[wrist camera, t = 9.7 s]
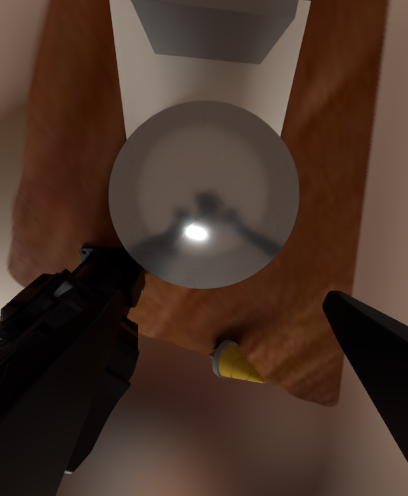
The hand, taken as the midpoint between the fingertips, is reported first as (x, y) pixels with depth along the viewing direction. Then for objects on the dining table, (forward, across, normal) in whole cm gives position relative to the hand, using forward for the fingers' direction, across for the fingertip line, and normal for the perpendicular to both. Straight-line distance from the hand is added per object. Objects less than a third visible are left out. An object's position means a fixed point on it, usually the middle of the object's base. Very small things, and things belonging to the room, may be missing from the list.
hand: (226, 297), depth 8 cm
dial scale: (+13, +1, -6) cm, 14 cm away
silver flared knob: (+5, +1, -4) cm, 6 cm away
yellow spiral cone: (+13, -4, +22) cm, 26 cm away
